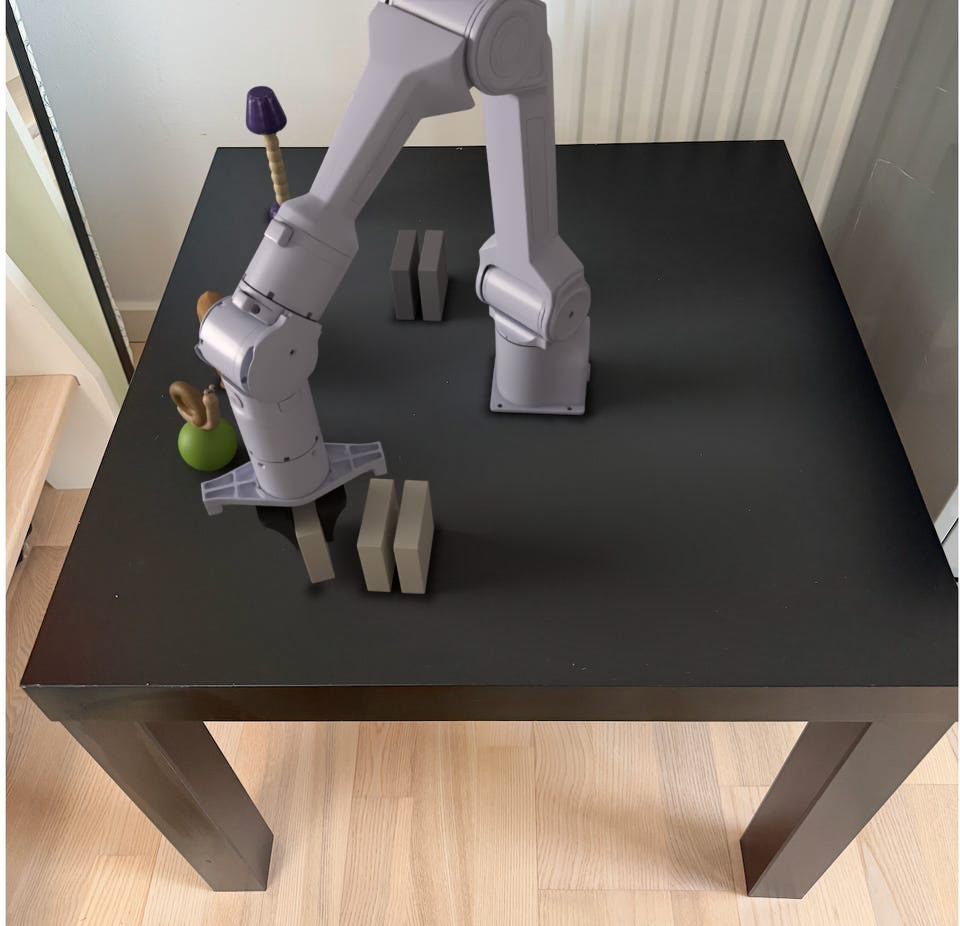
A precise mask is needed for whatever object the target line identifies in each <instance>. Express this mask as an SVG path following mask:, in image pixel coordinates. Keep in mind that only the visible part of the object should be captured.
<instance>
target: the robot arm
mask: <svg viewBox="0 0 960 926" xmlns="http://www.w3.org/2000/svg"><path fill="white" fill-rule="evenodd" d="M366 22H367V40H368V41H367V42H368V58H367V61H366V64H365V66H364V68H363V71H362V73H361V74H360V78H359V80H358V82H357V84H356V86H355V88H354V91H353V93H352V96H351V98H350V100H349V101H348V104H347V106H346V108H345V111H344V114H343V115H342V118H341V120H340V122H339V125H338V126H337V129H336V131H335V133H334V135H333V138H332V140H331V142H330V145H329V147H328V149H327V151H326V154H325V156H324V158H323V160H322V163H321V165H320V167H319V169H318V172H317V174H316V176H315V178H314V180H313V183H312V185H311V187H310V190H309V192H307V193H305V194H303V195H300V196H296V197H294V198H291V200H288V201H285V202H283V203H282V205H281V207H280V209H279V211H278V213H277V214H276V216H275V218H274V219H272V220H270V223H269V224H268V226H267V228H266V230H265V231H264V234H263V235H264V236H263V238H262V240H261V242H260V244H259V245H258V248H257V249H256V252H255V254H254V255H253V257H252V259H251V261H250V262H249V265H248V267H247V268H246V270H245V272H244V273H243V275H242V278H241V279H240V281H239V282H238V285H237V286H236V288H235V291H234V293H233V294H232V295H231V294H230V295H227V296H224V297H223V298H222V299H221V300H219V301H217V302H216V303H215V304H214V305H213V306H212V307H211V308H210V309H209V310H208V311H207V313H206V314H205V316H204V318H203V320H202V322H201V324H200V327H199V332H198V334H199V335H198V336H199V342H198V343H197V344H196V345H195V346H194V351H195V354H196V355H197V357H198V358H199V359H200V360H202V361H203V362H204V363H205V364H207V366H210V367H212V368H216V369H217V370H219V371H220V372H221V374H222V375H221V377H222V380H223V383H224V386H225V388H226V389H225V391H226V395H227V396H228V399H229V405H230V406H231V409H232V412H233V415H234V417H235V420H236V423H237V426H238V429H239V431H240V435H241V437H242V440H243V443H244V445H245V448H246V450H247V453H248V456H249V459H250V461H248V462H246V463H244V464H242V465H240V466H239V467H236V468H234V469H233V470H230V471H229V472H227V473H225V474H223V475H220V476H219V477H215V478H213V479H211V480H207V481H203V482H201V483H200V487H201V496H202V502H203V504H204V507H205V509H206V511H207V514H208V515H209V516H215V515H219V514H221V513H223V511H224V508H223V507H226V506H231V505H239V506H255V509H256V516H257V519H258V522H259V523H260V524H261V526H262V527H263V528H267V529H271V530H274V531H275V532H277V533H279V534H280V535H282V536H283V537H284V538H286V540H288V542H289V543H291V544H292V546H293V547H294V549H295V550H296V551H298V550H300V551H301V548H300V545H299V542H298V539H297V535H296V530H295V525H294V519H293V514H292V509H291V506H299V505H304V504H306V503H309V502H311V501H313V500H315V499H316V503H317V508H318V512H319V514H320V517H321V522H322V527H323V532H324V536H325V540H326V543H328V544H329V543H331V542H334V540H335V538H334V535H335V534H334V533H335V528H336V525H337V524H336V523H337V520H338V518H339V516H340V514H341V513H342V511H343V510H344V509H345V508H346V507H347V500H348V498H347V493H346V492H347V491H346V487H345V484H346V483H348V482H349V481H351V480H353V479H355V478H356V477H359V476H360V475H362V474H364V473H369V472H373V475H374V476H376V477H378V476H382V475H386V474H388V468H387V462H386V457H385V454H384V450H383V446H382V443H381V441H375V442H368V443H343V442H342V443H341V442H325V441H324V438H323V434H322V429H321V426H320V422H319V418H318V415H317V410H316V407H315V403H314V399H313V395H312V391H311V388H310V387H311V386H310V383H309V377H310V376H311V374H312V373H313V372H314V370H315V368H316V366H317V362H318V357H319V344H318V343H319V339H320V336H321V334H322V332H323V331H322V327H323V325H322V324H320V322H319V321H320V319H321V318H322V316H323V314H324V313H325V310H326V309H327V306H328V305H329V304H330V301H331V300H332V298H333V296H334V294H335V293H336V291H337V289H338V287H339V285H340V284H341V282H342V280H343V278H344V276H345V275H346V273H347V271H348V269H349V268H350V266H351V264H352V262H353V260H354V258H355V257H356V255H357V253H358V251H359V249H360V245H359V244H360V243H359V239H358V235H357V230H356V223H355V221H356V219H357V217H358V216H359V214H360V212H361V211H362V209H363V208H364V207H365V205H366V204H367V202H368V201H369V199H370V198H371V196H372V194H373V193H374V191H375V190H376V188H377V187H378V185H379V183H381V181H382V179H383V178H384V176H385V175H386V173H387V172H388V170H389V168H390V167H391V165H392V164H393V163H394V161H395V159H396V158H397V156H398V155H399V154H400V152H401V150H402V149H403V147H404V146H405V144H406V143H407V142H408V140H409V138H410V137H411V136H412V134H413V132H414V131H415V129H416V127H417V126H418V125H419V123H420V121H422V120H423V119H425V118H431V117H436V116H437V117H438V116H442V115H449V114H453V113H460V112H465V111H468V110H472V109H473V108H475V107H476V102H475V100H474V98H473V96H472V93H471V91H470V90H471V89H472V88H475V89H477V90H478V91H479V92H480V97H481V98H480V99H481V100H480V101H481V109H482V118H483V130H484V139H485V145H486V146H485V148H486V157H487V158H486V159H487V165H488V166H487V168H488V176H489V187H490V196H491V207H492V216H493V227H494V233H493V234H492V235H491V236H490V237H488V239H487V240H486V241H485V242H484V243H483V244H482V246H481V247H480V248H479V250H478V255H479V267H478V271H477V273H476V279H475V292H476V296H477V297H478V298H479V300H480V301H481V302H483V303H485V304H487V305H488V308H489V309H488V311H489V312H488V313H489V317H492V318H493V320H494V331H495V332H494V333H495V336H494V337H495V357H494V368H493V375H492V376H493V377H492V384H491V385H492V386H491V395H490V404H489V408H490V411H491V412H495V413H496V412H498V413H522V414H544V415H546V414H547V415H571V416H573V415H574V416H582V415H584V413H585V411H586V397H587V396H586V395H587V383H588V382H590V378H591V377H590V376H591V363H590V362H589V357H590V337H591V335H590V334H591V317H590V316H588V314H589V310H590V308H591V303H592V297H591V296H592V291H591V287H590V285H589V283H588V282H587V281H586V279H585V266H584V264H583V263H582V262H581V260H580V259H579V258H578V257H577V255H576V254H575V253H574V252H573V250H572V249H571V248H570V247H569V246H568V244H567V243H565V241H564V239H562V238H561V236H560V235H559V215H558V214H559V213H558V211H559V210H558V189H557V188H558V185H557V183H558V182H557V180H558V179H557V155H556V151H557V150H556V123H555V122H556V120H555V119H556V118H555V92H554V91H555V90H554V89H555V87H554V62H553V61H554V60H553V58H554V57H553V45H552V39H551V36H550V35H549V33H548V10H547V3H546V2H545V1H542V0H378V1H377V3H375V6H374V7H373V9H372V10H371V12H369V15H368V17H367V21H366ZM216 369H215V370H216ZM217 370H216V371H217ZM221 377H220V378H221ZM222 380H221V381H222Z"/></svg>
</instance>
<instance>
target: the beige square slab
mask: <svg viewBox="0 0 960 926" xmlns="http://www.w3.org/2000/svg"><path fill="white" fill-rule="evenodd" d="M291 509H292V514H293V519H294V525H295V530H296V535H297V539H298V542H299V545H300V548H301V549H300V552H301V555H302V558H303V560H304V563H305V566H306V569H307V573H308V575H309V578H310V581H311V583H312V584H317V583H320V582H324V581H329V580H331V579H335V578H336V575H335V570H334V567H333V561H332V557H331V552H330V547H329V542H328V543H326V540H325V536H324V532H323V527H322V522H321V517H320V514H319V512H318V508H317V503H316V499H315V500H313V501H311V502H309V503H306V504H304V505H299V506H291Z"/></svg>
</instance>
